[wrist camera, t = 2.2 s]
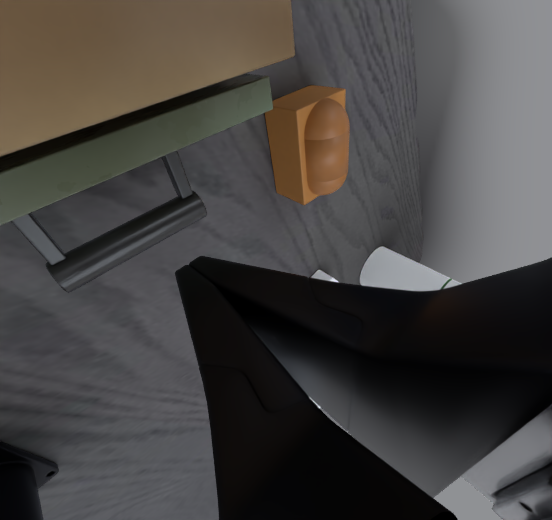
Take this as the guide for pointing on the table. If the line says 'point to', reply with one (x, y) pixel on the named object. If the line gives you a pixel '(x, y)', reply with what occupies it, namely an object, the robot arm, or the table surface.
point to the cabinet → (123, 57)
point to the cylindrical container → (401, 273)
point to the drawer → (117, 160)
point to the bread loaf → (309, 142)
